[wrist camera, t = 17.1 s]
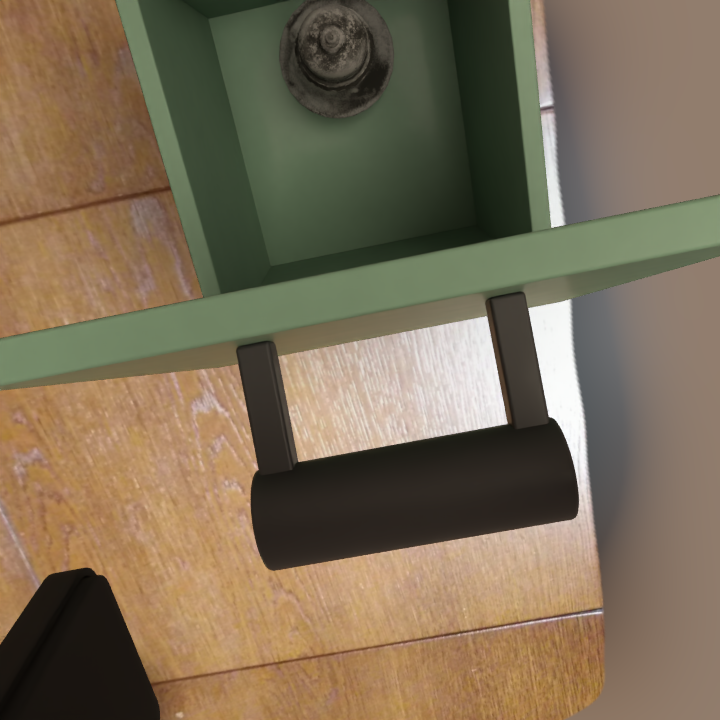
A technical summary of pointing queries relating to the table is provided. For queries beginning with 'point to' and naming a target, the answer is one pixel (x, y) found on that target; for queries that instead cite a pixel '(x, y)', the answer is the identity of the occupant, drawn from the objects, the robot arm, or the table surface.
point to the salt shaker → (336, 56)
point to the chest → (340, 138)
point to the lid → (374, 319)
